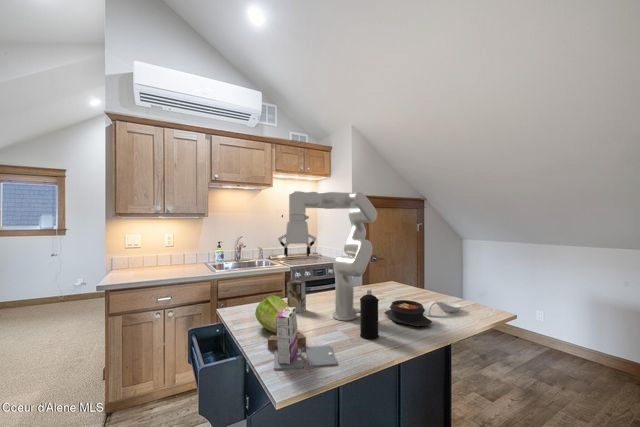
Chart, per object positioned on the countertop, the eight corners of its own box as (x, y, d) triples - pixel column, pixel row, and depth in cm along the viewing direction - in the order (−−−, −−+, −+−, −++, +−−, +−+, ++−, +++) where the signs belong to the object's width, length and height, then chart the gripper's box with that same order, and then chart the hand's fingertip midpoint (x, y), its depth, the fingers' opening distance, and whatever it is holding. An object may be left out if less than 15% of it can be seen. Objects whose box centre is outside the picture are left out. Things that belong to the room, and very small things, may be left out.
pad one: (330, 347, 112) (330, 345, 112) (337, 365, 98) (337, 362, 98) (305, 348, 110) (305, 346, 110) (309, 367, 97) (309, 365, 97)
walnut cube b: (280, 346, 113) (280, 336, 113) (277, 350, 109) (277, 340, 109) (271, 345, 114) (271, 335, 114) (267, 349, 110) (267, 339, 110)
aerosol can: (374, 341, 117) (374, 293, 118) (356, 337, 122) (356, 290, 122) (381, 334, 124) (381, 289, 125) (364, 330, 129) (364, 286, 129)
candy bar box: (285, 349, 109) (284, 306, 109) (298, 349, 108) (296, 306, 108) (277, 364, 98) (275, 316, 98) (291, 364, 97) (289, 316, 97)
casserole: (440, 325, 136) (440, 307, 136) (415, 333, 126) (415, 314, 126) (400, 310, 157) (400, 295, 157) (376, 316, 147) (376, 300, 147)
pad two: (300, 349, 110) (300, 347, 110) (303, 367, 96) (303, 365, 96) (274, 351, 109) (274, 348, 109) (274, 370, 95) (274, 367, 95)
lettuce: (305, 342, 127) (274, 357, 118) (279, 310, 145) (250, 321, 135) (308, 316, 122) (276, 329, 113) (281, 286, 140) (251, 296, 130)
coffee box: (306, 309, 158) (306, 281, 159) (301, 313, 152) (301, 283, 153) (291, 307, 162) (291, 279, 162) (286, 311, 156) (286, 282, 156)
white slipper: (447, 306, 165) (447, 294, 165) (465, 312, 154) (465, 299, 154) (418, 312, 154) (417, 299, 154) (435, 319, 143) (435, 305, 144)
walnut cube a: (302, 343, 116) (302, 333, 116) (305, 347, 112) (305, 337, 112) (293, 344, 114) (293, 335, 114) (296, 349, 111) (296, 338, 111)
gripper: (314, 218, 133) (314, 254, 133) (278, 218, 130) (278, 255, 130) (317, 218, 126) (317, 256, 125) (278, 218, 123) (278, 257, 123)
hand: (297, 256), depth 128 cm, fingers open, 9 cm apart
